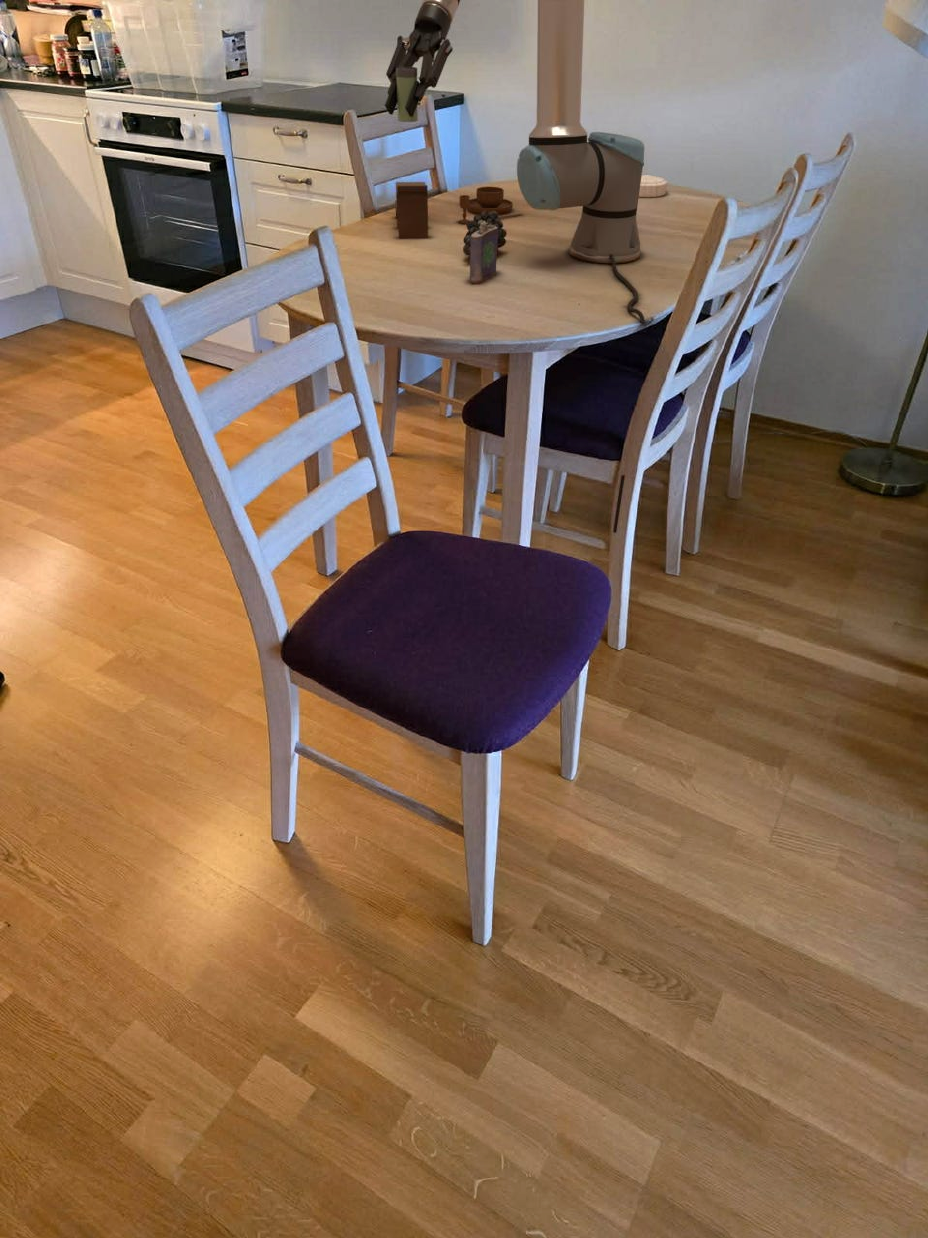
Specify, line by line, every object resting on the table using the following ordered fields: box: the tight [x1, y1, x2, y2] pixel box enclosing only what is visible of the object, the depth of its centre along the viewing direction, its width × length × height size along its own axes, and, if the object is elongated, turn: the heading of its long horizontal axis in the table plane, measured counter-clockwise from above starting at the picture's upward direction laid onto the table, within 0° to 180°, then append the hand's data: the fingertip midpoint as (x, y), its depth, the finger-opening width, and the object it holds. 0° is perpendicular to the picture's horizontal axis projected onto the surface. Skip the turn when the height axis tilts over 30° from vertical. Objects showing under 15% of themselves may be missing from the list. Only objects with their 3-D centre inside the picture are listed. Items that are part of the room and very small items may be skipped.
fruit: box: [462, 211, 508, 259], centre depth 180 cm, size 9×8×15 cm
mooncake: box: [639, 174, 668, 198], centre depth 232 cm, size 12×12×4 cm
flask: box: [469, 220, 498, 285], centre depth 168 cm, size 9×3×11 cm, turn 151°
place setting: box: [458, 186, 522, 225], centre depth 211 cm, size 18×20×6 cm
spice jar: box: [396, 66, 419, 123], centre depth 187 cm, size 5×5×10 cm
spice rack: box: [394, 181, 429, 239], centre depth 197 cm, size 19×7×11 cm, turn 6°
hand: (398, 110), depth 186 cm, fingers closed on spice jar, 5 cm apart
